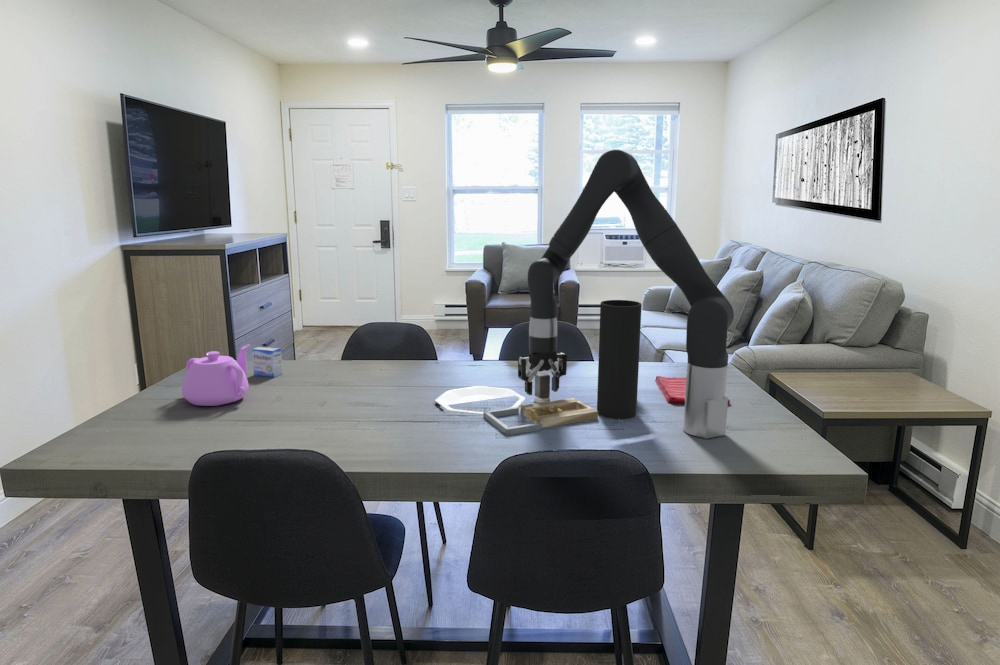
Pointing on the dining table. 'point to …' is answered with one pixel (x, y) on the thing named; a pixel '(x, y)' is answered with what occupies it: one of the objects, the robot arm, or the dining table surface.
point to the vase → (618, 358)
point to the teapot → (216, 379)
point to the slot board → (570, 414)
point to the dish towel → (673, 389)
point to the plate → (475, 396)
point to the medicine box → (267, 361)
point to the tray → (501, 426)
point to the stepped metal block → (542, 388)
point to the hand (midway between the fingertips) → (542, 392)
